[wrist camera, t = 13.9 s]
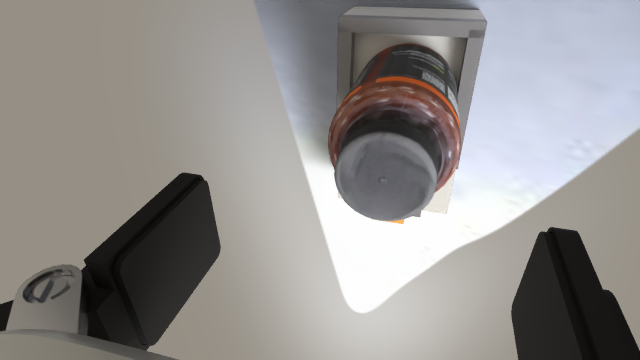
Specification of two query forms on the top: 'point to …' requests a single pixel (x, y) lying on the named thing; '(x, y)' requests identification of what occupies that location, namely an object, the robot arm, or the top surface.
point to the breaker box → (418, 28)
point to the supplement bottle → (396, 133)
